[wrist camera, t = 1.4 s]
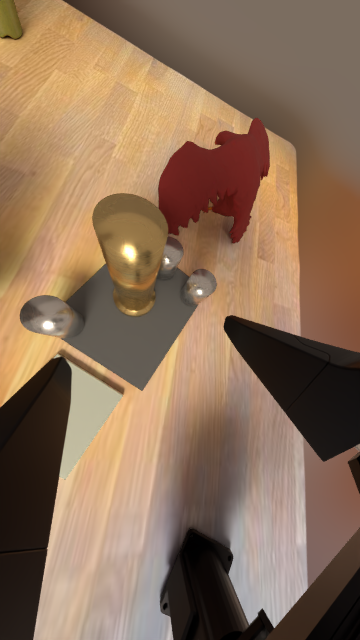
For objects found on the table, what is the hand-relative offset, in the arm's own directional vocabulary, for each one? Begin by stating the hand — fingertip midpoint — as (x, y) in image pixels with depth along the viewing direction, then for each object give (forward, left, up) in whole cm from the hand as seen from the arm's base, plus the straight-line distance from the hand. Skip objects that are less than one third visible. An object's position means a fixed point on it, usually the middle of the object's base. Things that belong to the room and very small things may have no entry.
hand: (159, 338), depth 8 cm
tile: (+3, +11, -13) cm, 17 cm away
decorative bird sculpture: (+3, -28, -13) cm, 31 cm away
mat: (+4, -4, -13) cm, 14 cm away
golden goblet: (+5, -5, -13) cm, 15 cm away
